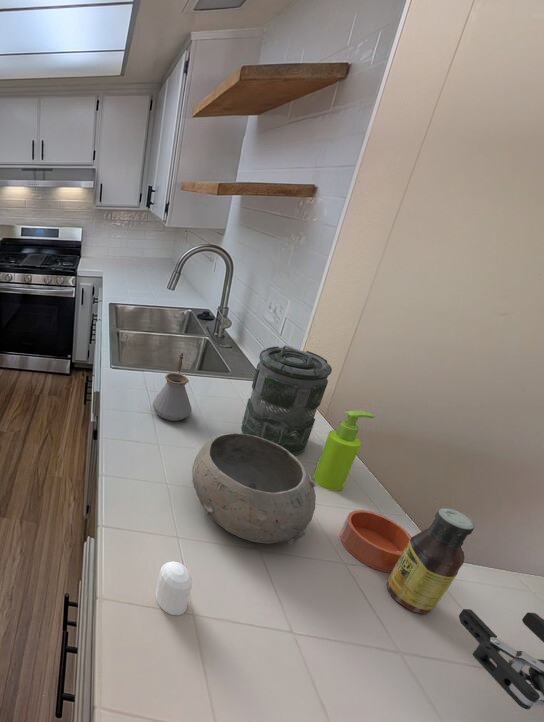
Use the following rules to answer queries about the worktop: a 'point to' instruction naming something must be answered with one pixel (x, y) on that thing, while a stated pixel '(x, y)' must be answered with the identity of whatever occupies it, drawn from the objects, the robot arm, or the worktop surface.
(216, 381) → the worktop surface
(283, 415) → the canister
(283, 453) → the bowl
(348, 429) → the soap dispenser
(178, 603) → the capsule
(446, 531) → the sauce bottle
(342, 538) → the holder
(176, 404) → the coffee pot
